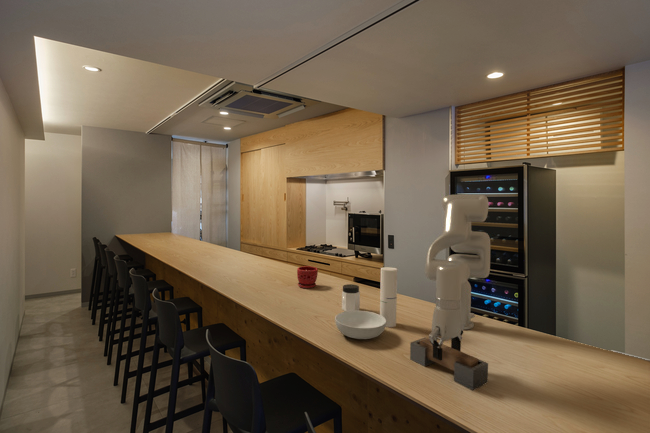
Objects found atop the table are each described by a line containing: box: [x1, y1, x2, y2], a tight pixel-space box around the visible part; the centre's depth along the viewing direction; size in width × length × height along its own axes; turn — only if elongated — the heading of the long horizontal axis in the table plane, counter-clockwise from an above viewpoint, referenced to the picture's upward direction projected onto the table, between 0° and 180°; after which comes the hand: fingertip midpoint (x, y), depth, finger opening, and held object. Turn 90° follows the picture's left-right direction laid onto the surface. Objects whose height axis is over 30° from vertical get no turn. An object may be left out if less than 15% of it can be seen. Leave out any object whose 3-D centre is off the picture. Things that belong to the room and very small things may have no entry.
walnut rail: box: [420, 337, 479, 372], centre depth 110 cm, size 19×4×5 cm, turn 35°
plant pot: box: [296, 265, 319, 289], centre depth 216 cm, size 13×13×12 cm
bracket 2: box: [453, 358, 489, 391], centre depth 103 cm, size 6×8×6 cm
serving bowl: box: [334, 310, 386, 340], centre depth 139 cm, size 21×21×7 cm
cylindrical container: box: [379, 266, 398, 328], centre depth 150 cm, size 7×7×25 cm
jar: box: [341, 283, 361, 312], centre depth 170 cm, size 9×8×12 cm
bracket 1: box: [409, 337, 435, 367], centre depth 117 cm, size 6×8×6 cm
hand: (446, 354), depth 110 cm, fingers open, 9 cm apart
